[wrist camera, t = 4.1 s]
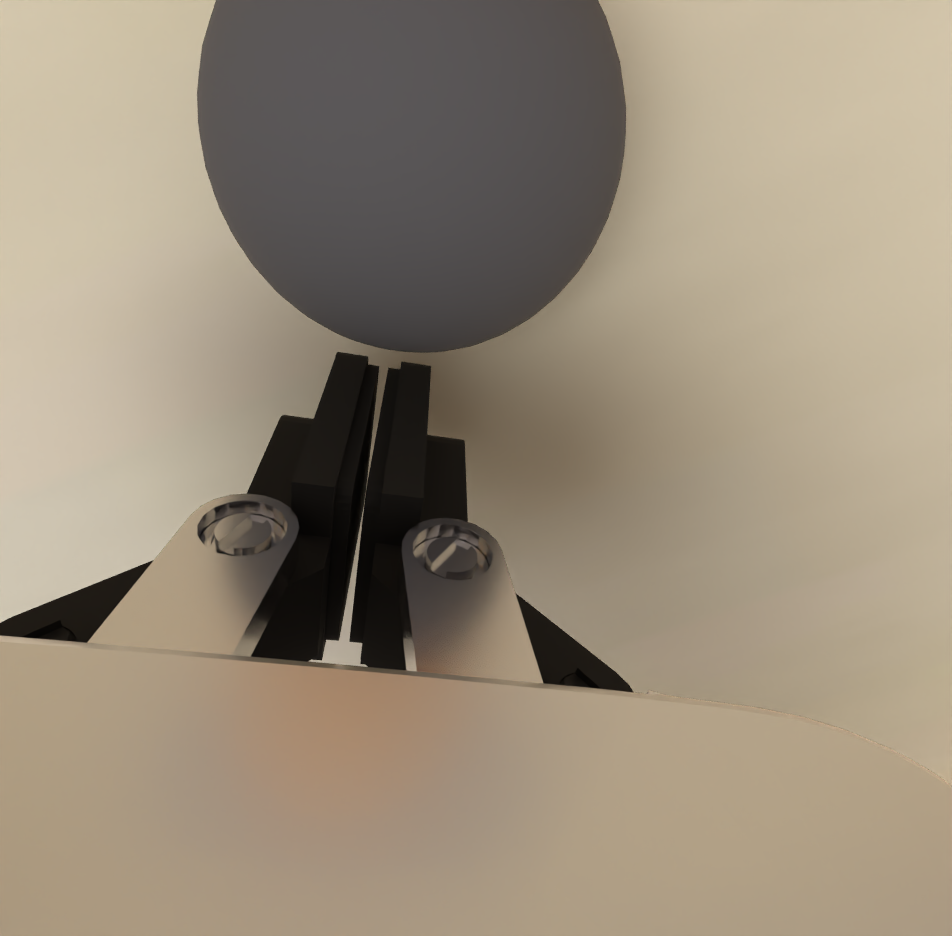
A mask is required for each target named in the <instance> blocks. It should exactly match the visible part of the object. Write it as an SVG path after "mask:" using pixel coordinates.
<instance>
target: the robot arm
mask: <svg viewBox="0 0 952 936" xmlns="http://www.w3.org/2000/svg"><path fill="white" fill-rule="evenodd" d="M378 374H379V366H374V365H368V356H362V355H355V354H349V353H342V352H337V355H336V357H335V360H334V363H333V366H332V369H331V372H330V374H329V377H328V380H327V383H326V386H325V389H324V391H323V394H322V397H321V400H320V403H319V406H318V408H317V411H316V414H315V417H314V419H309V418H302V417H295V416H287V415H282V416H281V418H280V420H279V422H278V424H277V426H276V429H275V431H274V433H273V435H272V438H271V440H270V442H269V444H268V447H267V449H266V451H265V453H264V456H263V458H262V460H261V463H260V465H259V467H258V469H257V472H256V474H255V476H254V478H253V481H252V483H251V485H250V487H249V490H248V492H247V494H236V495H228V496H225V497H221V498H217V499H214V500H212V501H210V502H208V503H206V504H204V505H202V506H200V507H199V508H198V509H197V510H196V511H195V512H193V513H192V514H191V515H190V516H189V518H188V519H187V520H186V521H185V522H184V524H183V525H182V526H181V527H180V529H179V530H178V531H177V532H176V534H175V535H174V536H173V537H172V539H171V540H170V541H169V542H168V543H167V545H166V546H165V547H164V548H163V550H162V551H161V552H160V553H159V555H158V556H157V557H156V558H155V559H154V560H153V561H150V562H148V563H145V564H143V565H140V566H138V567H135V568H133V569H130V570H128V571H125V572H123V573H121V574H118V575H116V576H113V577H111V578H108V579H106V580H103V581H101V582H98V583H96V584H93V585H91V586H88V587H86V588H83V589H81V590H78V591H76V592H73V593H71V594H68V595H66V596H63V597H61V598H58V599H56V600H53V601H51V602H48V603H46V604H43V605H41V606H38V607H36V608H33V609H31V610H28V611H26V612H23V613H21V614H18V615H16V616H13V617H11V618H9V619H7V620H5V621H3V622H1V623H0V936H952V786H951V785H950V784H948V783H947V782H946V781H945V780H943V779H942V778H941V777H939V776H938V775H936V774H935V773H933V772H931V771H930V770H928V769H926V768H925V767H923V766H921V765H920V764H918V763H916V762H915V761H913V760H911V759H909V758H907V757H905V756H903V755H901V754H899V753H897V752H896V751H894V750H892V749H890V748H887V747H885V746H883V745H880V744H878V743H875V742H873V741H871V740H868V739H866V738H864V737H861V736H859V735H857V734H854V733H852V732H849V731H847V730H844V729H841V728H838V727H834V726H831V725H828V724H825V723H821V722H818V721H815V720H812V719H808V718H805V717H801V716H796V715H792V714H787V713H782V712H777V711H772V710H767V709H763V708H758V707H751V706H743V705H736V704H728V703H721V702H713V701H706V700H698V699H690V698H683V697H675V696H668V695H665V694H662V693H658V692H655V691H652V690H648V692H647V694H644V693H634V692H633V691H632V689H631V688H630V686H629V685H628V684H627V683H626V682H625V681H624V680H623V679H622V678H621V677H620V676H619V675H618V674H617V673H616V672H615V671H614V670H612V669H611V668H610V667H608V666H607V665H606V664H605V663H603V662H602V661H601V660H600V659H598V658H597V657H596V656H594V655H593V654H592V653H591V652H589V651H588V650H587V649H586V648H584V647H583V646H582V645H581V644H579V643H578V642H577V641H575V640H574V639H573V638H572V637H570V636H569V635H568V634H567V633H565V632H564V631H563V630H562V629H560V628H559V627H558V626H556V625H555V624H554V623H553V622H551V621H550V620H549V619H548V618H546V617H545V616H544V615H543V614H541V613H540V612H539V611H537V610H536V609H535V608H534V607H532V606H531V605H530V604H529V603H527V602H526V601H525V600H524V599H522V598H521V597H520V596H518V595H517V594H516V593H515V590H514V587H513V584H512V581H511V578H510V574H509V571H508V568H507V565H506V562H505V558H504V555H503V552H502V550H501V548H500V546H499V544H498V542H497V541H496V540H495V539H494V538H493V537H492V536H491V535H490V534H489V533H488V532H487V531H485V530H484V529H482V528H480V527H478V526H477V525H475V524H472V523H469V522H468V520H467V493H466V467H465V444H464V440H460V439H452V438H445V437H438V436H431V435H427V428H428V410H429V392H430V374H431V366H426V365H420V364H413V363H407V362H401V368H400V369H394V368H388V373H387V379H386V384H385V390H384V395H383V401H382V406H381V412H380V417H379V423H378V428H377V434H376V439H375V445H374V450H373V456H372V461H371V467H370V472H369V478H368V483H367V475H368V466H369V457H370V448H371V439H372V430H373V420H374V411H375V402H376V393H377V384H378ZM366 485H367V490H366ZM365 493H366V497H365ZM364 500H365V504H364ZM363 506H364V513H363V522H362V531H361V540H360V550H359V559H358V568H357V577H356V586H355V596H354V605H353V614H352V623H351V632H350V642H359V643H363V644H362V652H361V663H360V664H366V665H367V666H368V667H361V666H350V665H339V664H328V663H317V662H308V661H310V660H311V659H313V660H322V657H323V652H324V647H325V642H326V639H327V640H337V641H339V637H340V632H341V626H342V621H343V616H344V610H345V605H346V599H347V594H348V588H349V583H350V577H351V572H352V566H353V561H354V555H355V550H356V544H357V539H358V533H359V528H360V522H361V517H362V511H363Z"/></svg>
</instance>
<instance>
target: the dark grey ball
mask: <svg viewBox="0 0 952 936" xmlns="http://www.w3.org/2000/svg"><path fill="white" fill-rule="evenodd" d="M197 102H198V124H199V132H200V139H201V145H202V150H203V156H204V161H205V167H206V170H207V173H208V176H209V179H210V182H211V185H212V188H213V191H214V194H215V197H216V200H217V202H218V205H219V208H220V210H221V212H222V214H223V216H224V218H225V220H226V222H227V224H228V226H229V228H230V230H231V232H232V234H233V235H234V237H235V239H236V240H237V242H238V244H239V245H240V247H241V248H242V250H243V251H244V253H245V254H246V255H247V257H248V258H249V260H250V261H251V263H252V264H253V265H254V267H255V268H256V269H257V270H258V271H259V273H260V274H261V275H262V276H263V277H264V278H265V279H266V280H267V281H268V283H269V284H270V285H271V286H272V287H273V288H274V289H275V290H276V291H277V292H278V293H279V294H280V295H281V296H282V297H283V298H285V299H286V300H287V301H288V302H290V303H291V304H292V305H293V306H294V307H296V308H297V309H298V310H299V311H301V312H302V313H303V314H305V315H306V316H307V317H309V318H311V319H312V320H314V321H316V322H317V323H319V324H321V325H323V326H324V327H326V328H328V329H330V330H331V331H333V332H335V333H337V334H339V335H342V336H344V337H346V338H349V339H352V340H354V341H357V342H361V343H364V344H367V345H371V346H375V347H379V348H383V349H388V350H395V351H404V352H442V351H448V350H454V349H459V348H464V347H469V346H473V345H476V344H479V343H482V342H484V341H487V340H489V339H492V338H494V337H497V336H499V335H502V334H504V333H506V332H508V331H510V330H511V329H513V328H515V327H516V326H518V325H520V324H521V323H523V322H525V321H526V320H528V319H530V318H531V317H532V316H534V315H535V314H536V313H537V312H538V311H540V310H541V309H542V308H543V307H545V306H546V305H547V304H548V303H549V302H551V301H552V300H553V299H554V298H555V297H556V296H557V295H558V294H559V293H560V292H561V291H562V289H563V288H564V287H565V286H566V285H567V284H568V283H569V282H570V281H571V279H572V278H573V277H574V276H575V275H576V273H577V272H578V271H579V269H580V268H581V266H582V265H583V263H584V262H585V260H586V259H587V257H588V256H589V254H590V253H591V251H592V249H593V247H594V246H595V244H596V242H597V240H598V238H599V236H600V234H601V232H602V229H603V227H604V225H605V223H606V221H607V219H608V216H609V213H610V210H611V207H612V204H613V200H614V197H615V194H616V191H617V187H618V183H619V180H620V175H621V169H622V163H623V157H624V148H625V134H626V105H625V96H624V88H623V81H622V74H621V67H620V61H619V58H618V54H617V51H616V47H615V44H614V41H613V38H612V34H611V31H610V28H609V25H608V22H607V19H606V16H605V14H604V12H603V10H602V8H601V6H600V4H599V2H598V0H216V2H215V5H214V9H213V12H212V15H211V18H210V21H209V24H208V28H207V31H206V35H205V38H204V41H203V45H202V53H201V61H200V69H199V79H198V90H197Z"/></svg>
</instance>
